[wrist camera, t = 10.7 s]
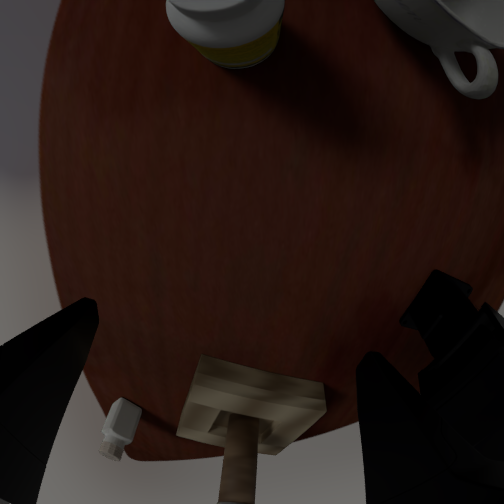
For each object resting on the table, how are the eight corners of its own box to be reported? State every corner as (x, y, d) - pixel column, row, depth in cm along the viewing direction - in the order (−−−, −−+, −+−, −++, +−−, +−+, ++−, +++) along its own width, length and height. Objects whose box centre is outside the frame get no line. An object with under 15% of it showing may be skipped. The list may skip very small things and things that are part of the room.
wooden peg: (260, 411, 29) (255, 509, 18) (259, 426, 30) (254, 514, 20) (227, 409, 29) (214, 506, 18) (228, 424, 30) (217, 511, 20)
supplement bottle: (292, 54, 15) (314, 2, 7) (215, 81, 16) (166, 55, 8) (261, -7, 13) (254, -86, 4) (187, 20, 14) (126, -36, 6)
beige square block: (323, 382, 29) (327, 412, 26) (276, 432, 36) (275, 456, 32) (201, 354, 28) (193, 385, 24) (181, 411, 34) (175, 436, 30)
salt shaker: (112, 401, 35) (92, 450, 27) (121, 394, 34) (100, 448, 26) (134, 414, 37) (117, 463, 28) (144, 408, 35) (127, 461, 27)
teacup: (349, -67, 9) (377, -118, 2) (464, -18, 9) (517, -38, 2) (341, 70, 15) (386, 47, 8) (465, 114, 15) (535, 128, 8)
